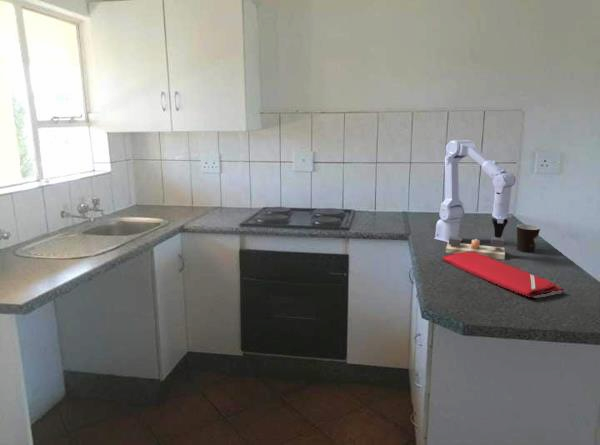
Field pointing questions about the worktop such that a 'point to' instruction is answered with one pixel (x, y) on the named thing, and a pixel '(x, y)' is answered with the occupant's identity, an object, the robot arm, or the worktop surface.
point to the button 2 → (497, 241)
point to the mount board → (477, 250)
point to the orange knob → (475, 244)
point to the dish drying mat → (501, 274)
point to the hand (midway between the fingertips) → (497, 237)
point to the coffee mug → (527, 237)
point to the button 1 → (454, 240)
